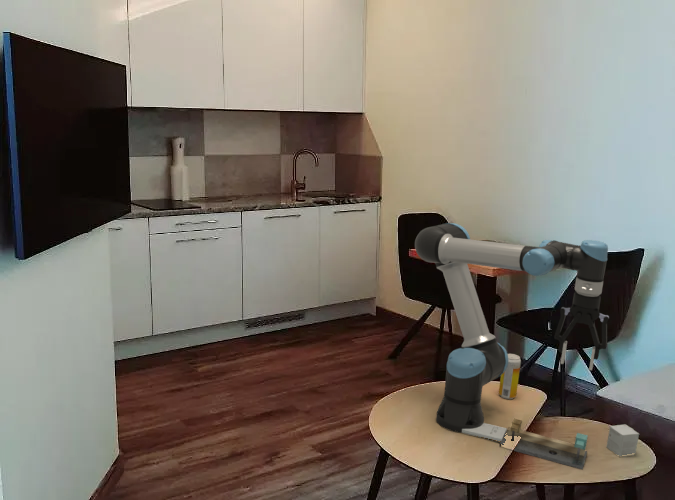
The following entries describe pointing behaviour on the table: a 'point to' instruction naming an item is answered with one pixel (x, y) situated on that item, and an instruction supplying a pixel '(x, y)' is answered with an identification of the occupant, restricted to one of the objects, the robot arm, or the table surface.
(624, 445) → the product box
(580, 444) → the block
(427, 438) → the table surface
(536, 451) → the bolt plate
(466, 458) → the table surface
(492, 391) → the table surface
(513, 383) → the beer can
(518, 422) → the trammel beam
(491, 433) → the external hard drive
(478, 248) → the robot arm
